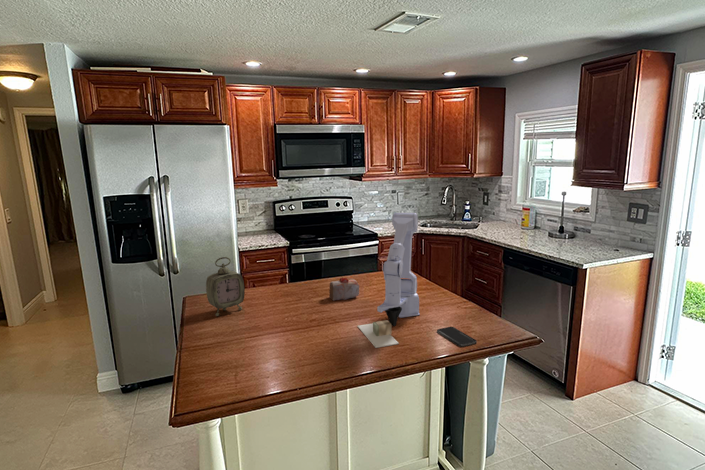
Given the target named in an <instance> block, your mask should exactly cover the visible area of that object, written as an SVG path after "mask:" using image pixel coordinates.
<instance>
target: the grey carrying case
mask: <svg viewBox="0 0 705 470" xmlns="http://www.w3.org/2000/svg"><path fill="white" fill-rule="evenodd" d="M328 290H329V294H328V295H329V298H330V300H332V301H341V300H349V299H353V298H357V297H358V296H359V295H360V284H359V283H358V282H357V280H356V279H354V278H353V279H348V278H347V277H341V278H339V280H335V281H330V283H329V289H328Z"/></svg>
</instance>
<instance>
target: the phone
mask: <svg viewBox="0 0 705 470" xmlns="http://www.w3.org/2000/svg"><path fill="white" fill-rule="evenodd" d="M436 333H437V334H439V335H440V336H442V337H444V338H445V339H447V340H448V341H449V342H451V343H452V344H454V345H456V346H457V347H459V348H465V347H469V346H472V345H476V344H477V342H478V340H477V339H475V338H473V337H471V336H470V335H468V334H466V333H465V332H464V331H463V332H462V331H461V330H459V328H458V329H457V328H456V327H454V326H448V327H447V326H446V327H443V328H437V329H436Z"/></svg>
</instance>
